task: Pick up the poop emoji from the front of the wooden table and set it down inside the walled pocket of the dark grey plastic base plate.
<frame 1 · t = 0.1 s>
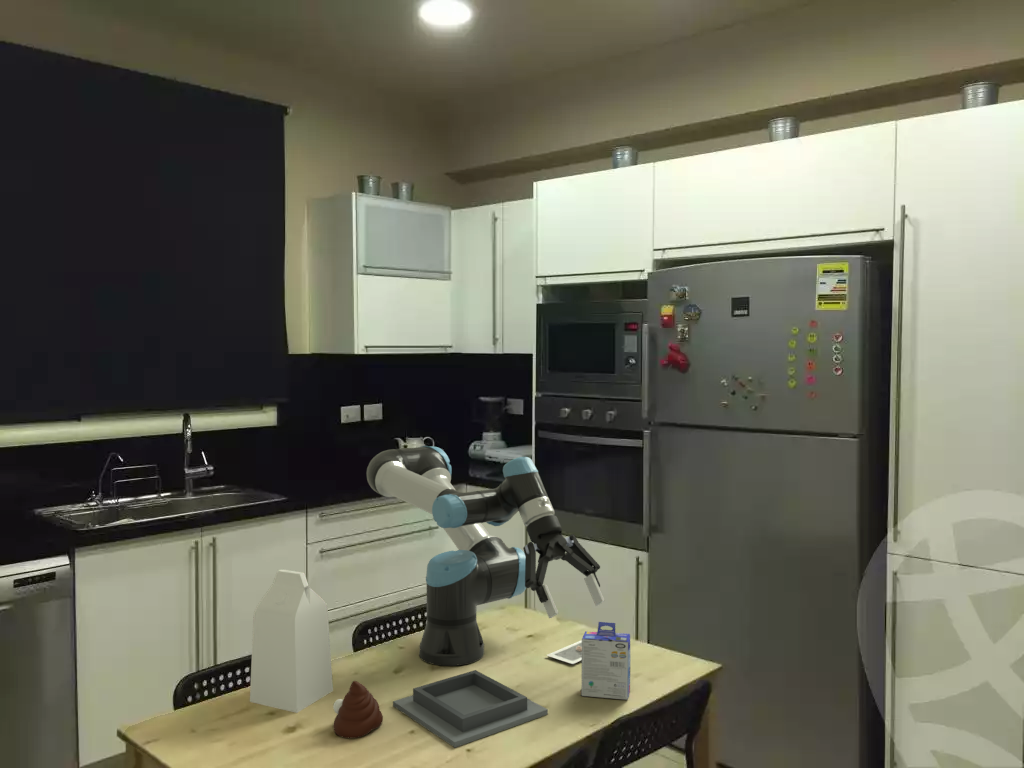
hand: (577, 609, 179), 15 cm above the table, tool tilted 35°, fingers open, 13 cm apart
milk: (292, 697, 171), on the table
touchpad: (579, 656, 195), on the table
poop emoji: (357, 729, 157), on the table
ink cartridge box: (606, 694, 173), on the table
pocket plate: (469, 710, 165), on the table
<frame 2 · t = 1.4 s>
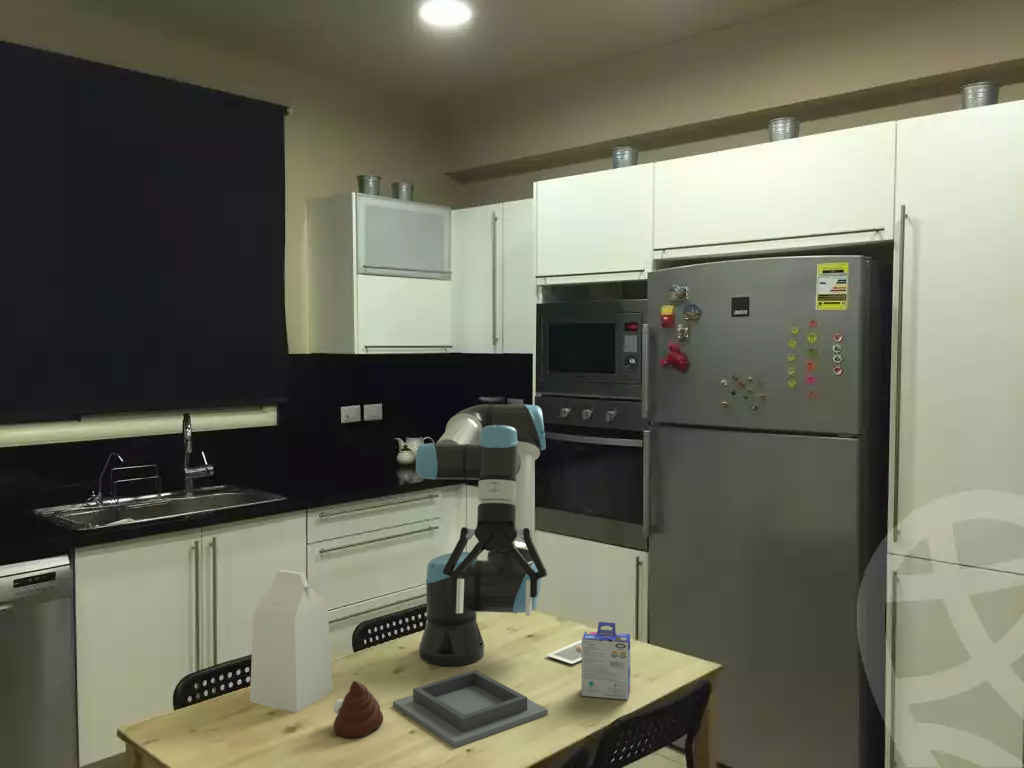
hand: (493, 614, 160), 21 cm above the table, tool tilted 15°, fingers open, 13 cm apart
nothing on the table moved.
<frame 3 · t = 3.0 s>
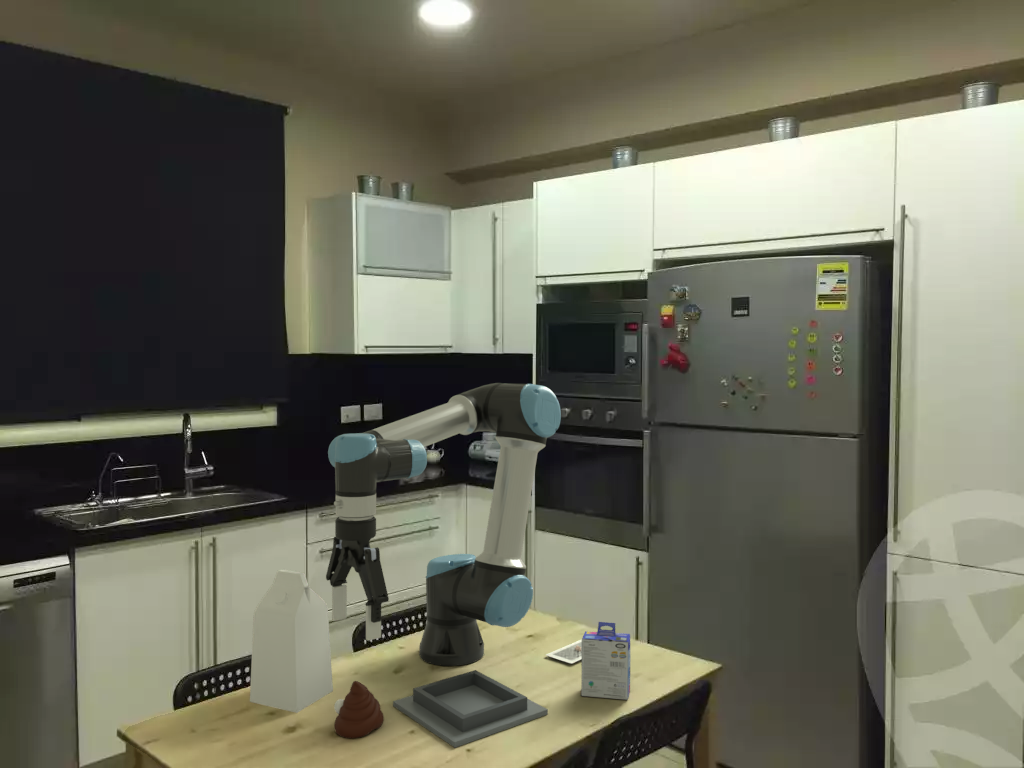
hand: (355, 628, 156), 19 cm above the table, tool pointing down, fingers open, 13 cm apart
nothing on the table moved.
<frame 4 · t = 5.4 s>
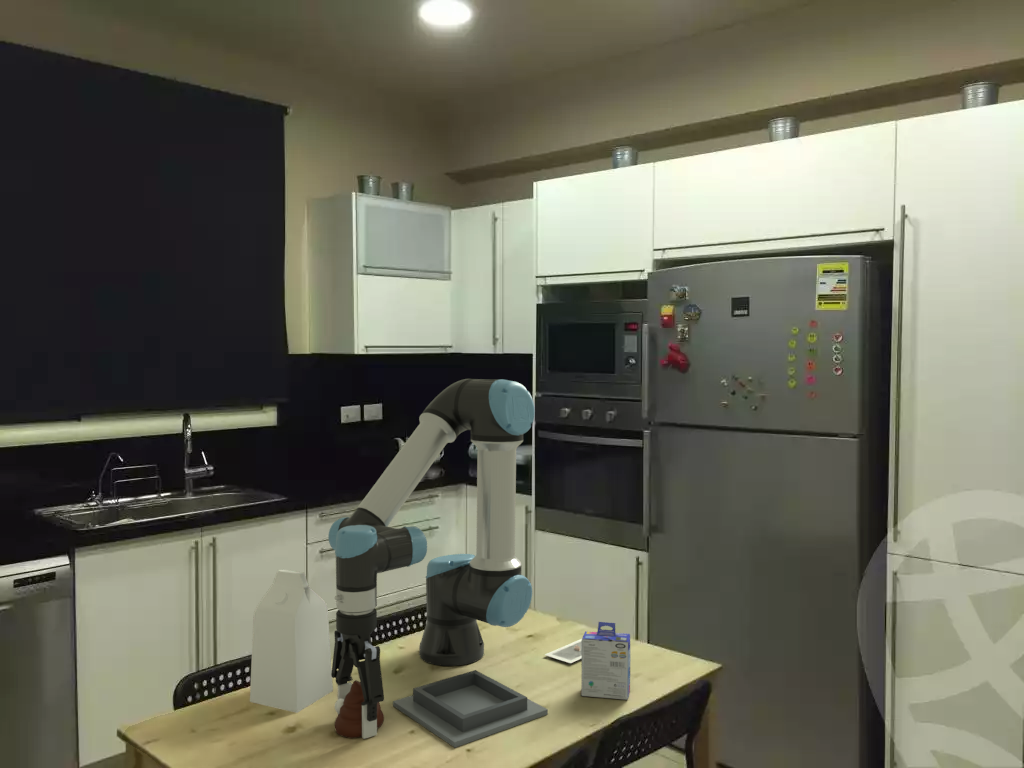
hand: (356, 726, 157), 0 cm above the table, tool pointing down, fingers closed on poop emoji, 9 cm apart
poop emoji: (358, 728, 157), on the table, touching gripper
everything else where it was.
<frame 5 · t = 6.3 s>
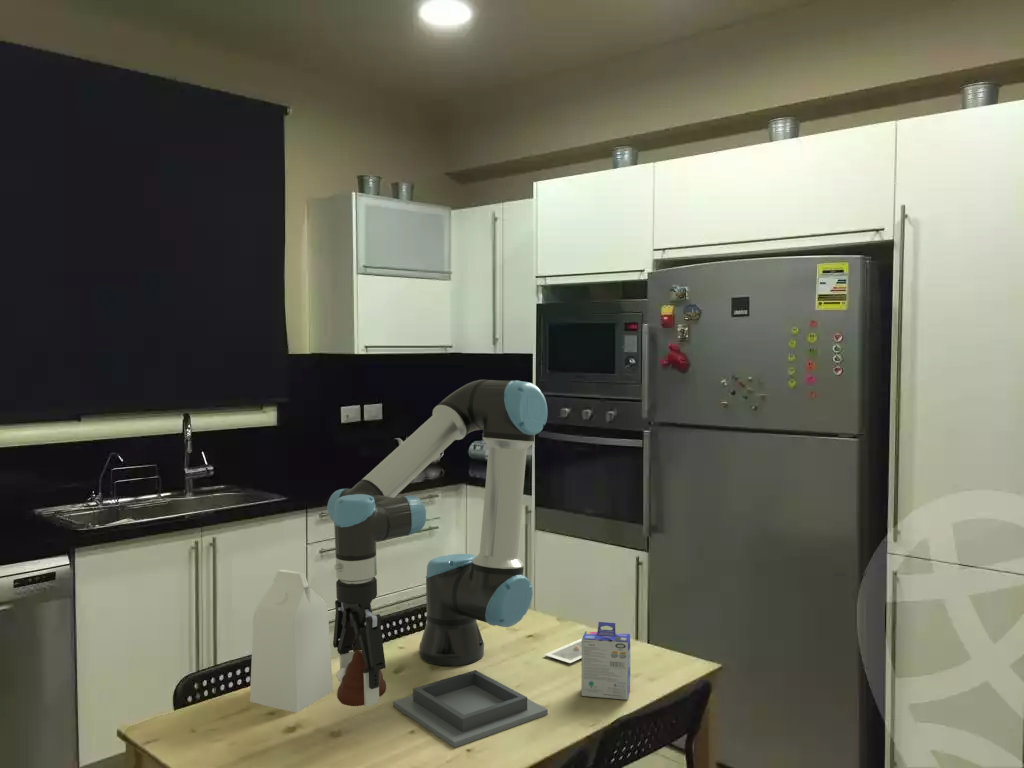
hand: (359, 694, 157), 6 cm above the table, tool pointing down, fingers closed on poop emoji, 9 cm apart
poop emoji: (361, 697, 158), point 6 cm above the table, touching gripper
everything else where it was.
when the fingers open (3 cm above the table, at t = 12.0 s): poop emoji drops 2 cm, resting on pocket plate.
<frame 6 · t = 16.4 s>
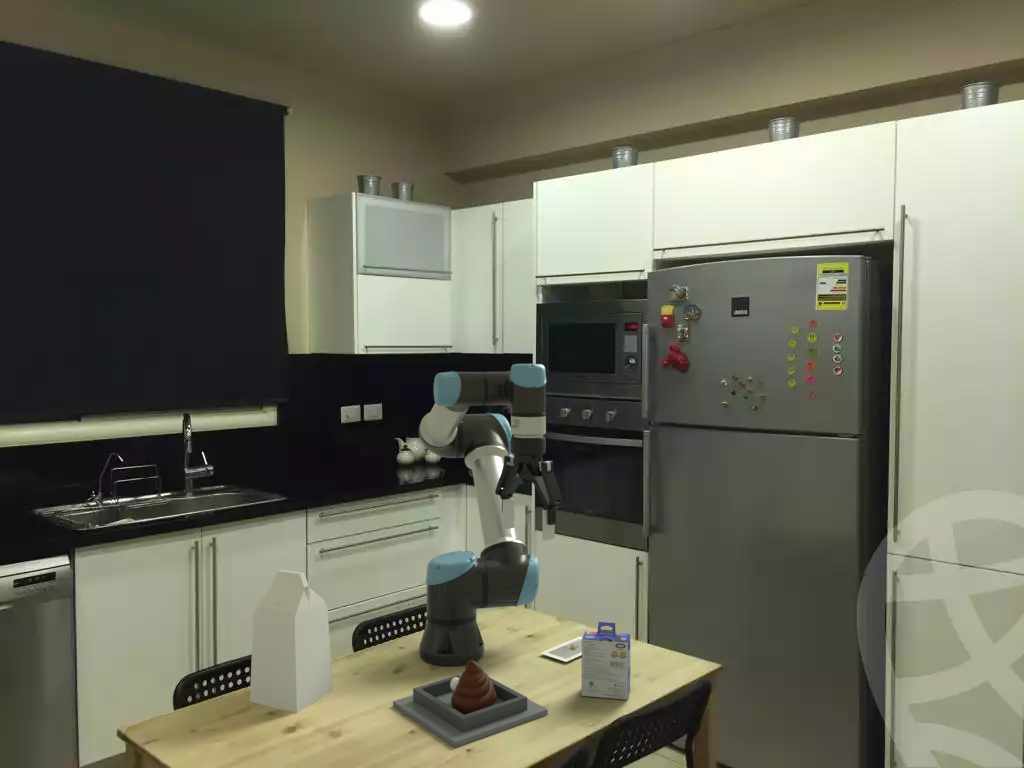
hand: (527, 534, 179), 32 cm above the table, tool pointing down, fingers open, 13 cm apart
touchpad: (572, 654, 197), on the table
poop emoji: (473, 706, 165), point 1 cm above the table, touching pocket plate
everything else where it was.
at the end: poop emoji inside the target area on the pocket plate (0.7 cm from its centre), point 0.8 cm above the pocket plate's base; poop emoji tilted 0°; the gripper is holding nothing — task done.
